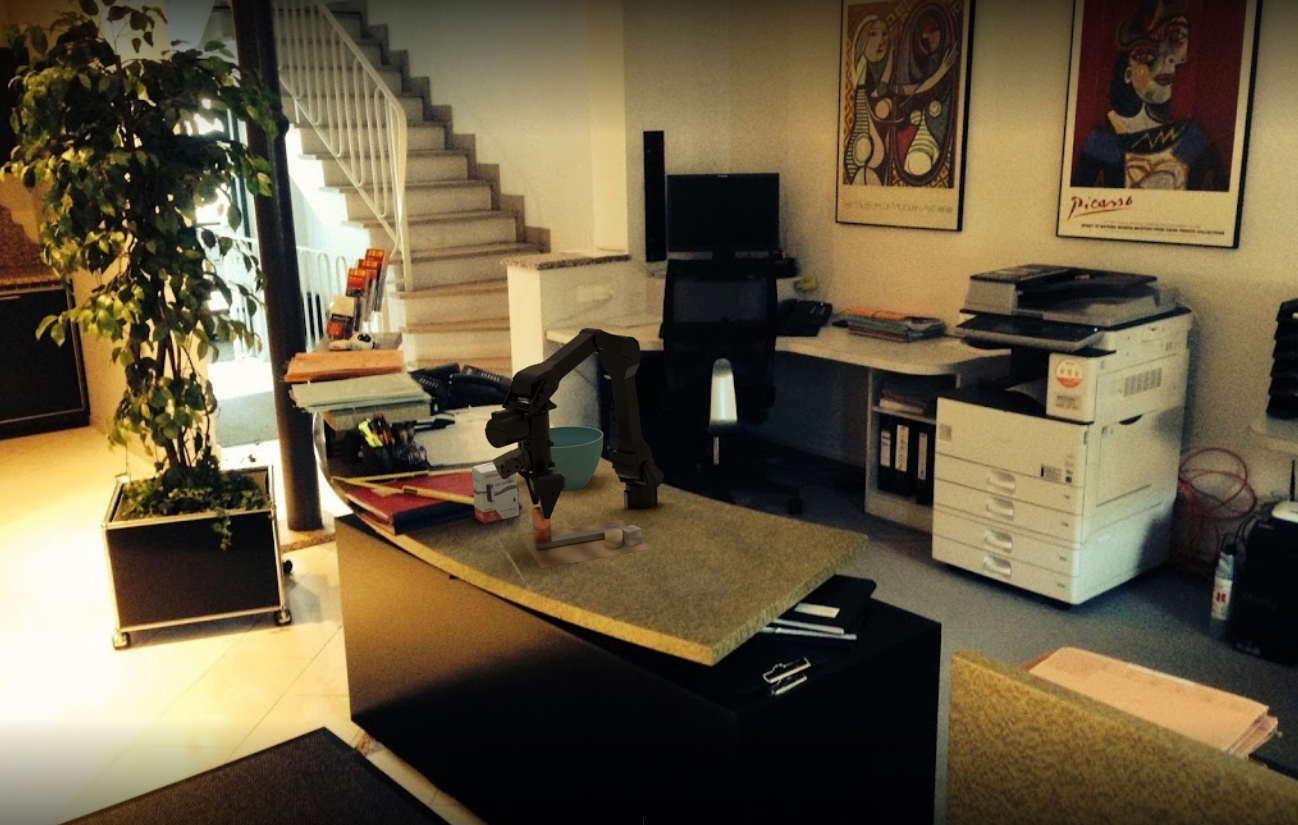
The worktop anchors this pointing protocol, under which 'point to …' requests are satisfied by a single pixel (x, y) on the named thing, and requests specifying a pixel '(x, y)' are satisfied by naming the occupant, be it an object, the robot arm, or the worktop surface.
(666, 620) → the worktop surface
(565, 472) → the teal bowl
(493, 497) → the ink box
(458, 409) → the worktop surface
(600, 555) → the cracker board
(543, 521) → the lever
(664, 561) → the worktop surface
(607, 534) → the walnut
